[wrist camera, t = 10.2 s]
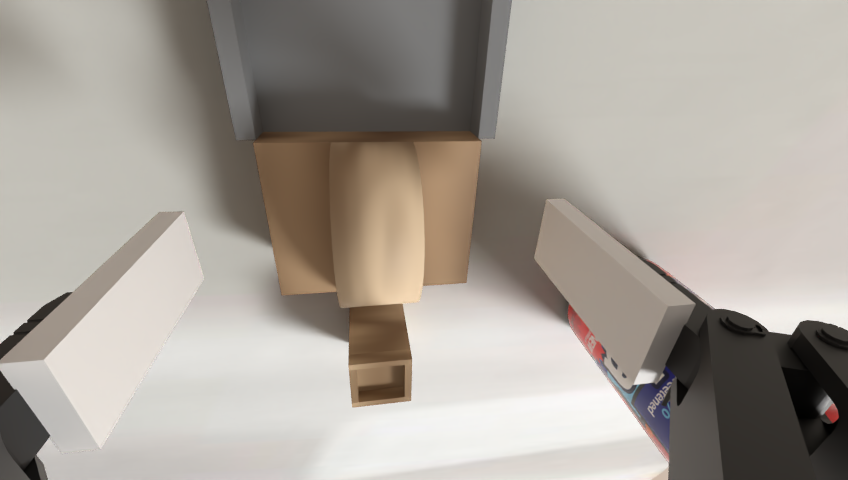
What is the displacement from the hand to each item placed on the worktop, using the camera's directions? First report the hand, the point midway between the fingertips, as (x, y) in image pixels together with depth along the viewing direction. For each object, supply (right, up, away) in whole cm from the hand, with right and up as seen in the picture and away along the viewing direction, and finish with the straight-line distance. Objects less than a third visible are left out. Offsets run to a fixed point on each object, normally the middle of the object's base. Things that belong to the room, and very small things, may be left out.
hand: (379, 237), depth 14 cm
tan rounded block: (-1, +3, +8) cm, 8 cm away
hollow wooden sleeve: (-2, -6, +13) cm, 14 cm away
